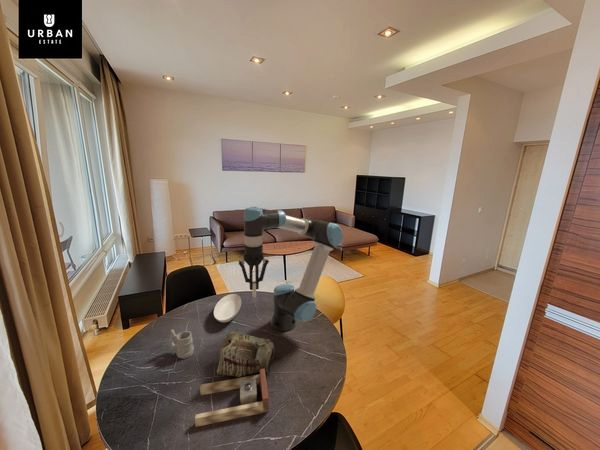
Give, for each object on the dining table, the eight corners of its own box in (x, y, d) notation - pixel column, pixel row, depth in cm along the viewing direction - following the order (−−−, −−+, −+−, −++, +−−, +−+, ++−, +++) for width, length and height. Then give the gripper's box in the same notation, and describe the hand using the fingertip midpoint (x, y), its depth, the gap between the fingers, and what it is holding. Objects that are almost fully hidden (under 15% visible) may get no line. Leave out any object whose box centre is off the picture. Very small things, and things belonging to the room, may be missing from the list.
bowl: (236, 330, 136) (235, 320, 134) (208, 330, 135) (207, 320, 133) (244, 302, 165) (244, 293, 164) (222, 302, 164) (221, 293, 163)
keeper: (255, 390, 98) (255, 377, 97) (256, 406, 92) (256, 392, 90) (240, 392, 97) (240, 379, 96) (240, 409, 90) (240, 395, 89)
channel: (264, 380, 103) (264, 368, 102) (268, 411, 90) (268, 397, 88) (201, 392, 97) (200, 379, 96) (195, 427, 84) (194, 412, 82)
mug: (188, 360, 113) (186, 337, 110) (164, 357, 114) (162, 334, 112) (197, 348, 120) (195, 327, 118) (174, 346, 122) (172, 324, 119)
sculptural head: (278, 326, 119) (227, 319, 119) (273, 349, 98) (211, 340, 98) (272, 362, 119) (222, 354, 119) (267, 392, 98) (205, 383, 98)
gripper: (267, 241, 108) (268, 290, 113) (237, 242, 105) (239, 293, 110) (270, 246, 101) (270, 298, 106) (237, 247, 98) (239, 301, 103)
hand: (254, 295), depth 108 cm, fingers closed
